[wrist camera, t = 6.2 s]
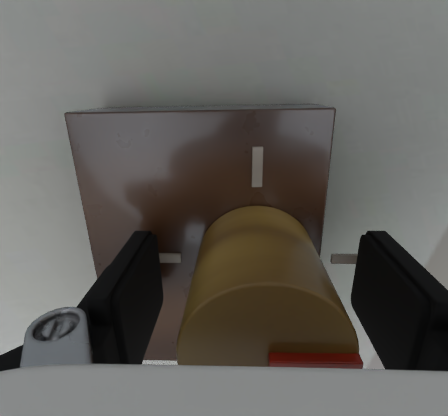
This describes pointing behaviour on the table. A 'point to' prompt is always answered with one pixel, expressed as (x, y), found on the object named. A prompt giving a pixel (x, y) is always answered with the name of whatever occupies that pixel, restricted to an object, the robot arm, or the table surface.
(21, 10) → the table surface
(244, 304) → the knob
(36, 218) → the table surface
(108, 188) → the panel
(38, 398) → the robot arm
